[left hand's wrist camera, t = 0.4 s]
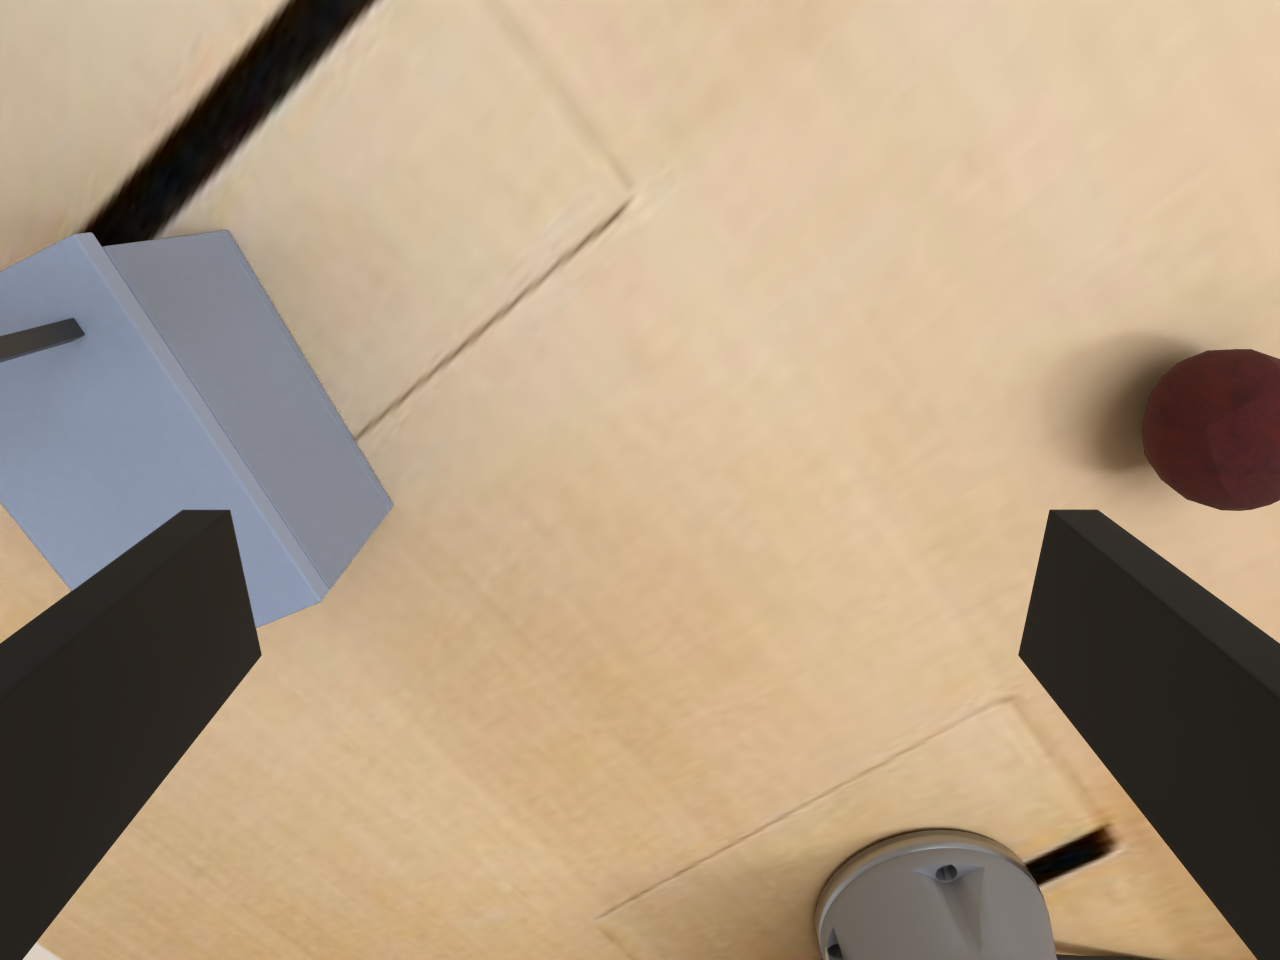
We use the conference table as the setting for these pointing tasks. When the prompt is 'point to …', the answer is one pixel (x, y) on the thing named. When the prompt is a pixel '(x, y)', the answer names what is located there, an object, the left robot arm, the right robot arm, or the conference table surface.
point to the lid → (119, 432)
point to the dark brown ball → (1218, 429)
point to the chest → (258, 390)
